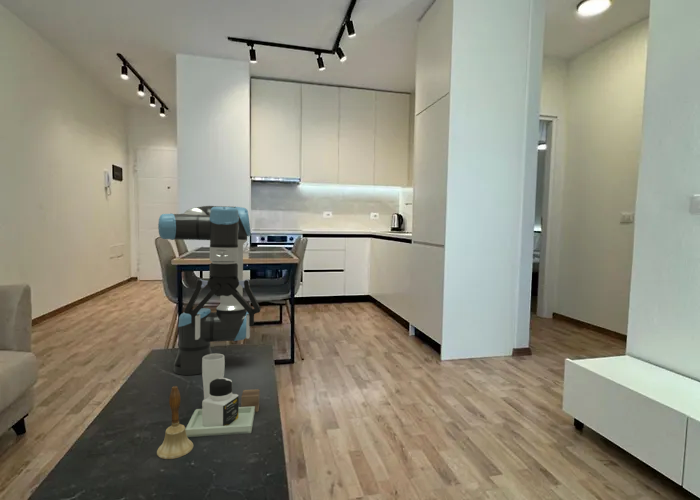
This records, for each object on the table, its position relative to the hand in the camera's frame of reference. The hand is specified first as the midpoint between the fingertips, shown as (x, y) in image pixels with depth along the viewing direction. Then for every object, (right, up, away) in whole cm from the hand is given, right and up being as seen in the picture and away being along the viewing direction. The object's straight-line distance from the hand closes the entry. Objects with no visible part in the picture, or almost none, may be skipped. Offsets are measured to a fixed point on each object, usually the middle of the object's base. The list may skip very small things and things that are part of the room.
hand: (223, 337), depth 107 cm
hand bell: (-8, -25, -12) cm, 29 cm away
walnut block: (+5, -25, +11) cm, 27 cm away
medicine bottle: (-1, -24, +1) cm, 24 cm away
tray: (-1, -25, +1) cm, 25 cm away
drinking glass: (-8, -24, +14) cm, 29 cm away
